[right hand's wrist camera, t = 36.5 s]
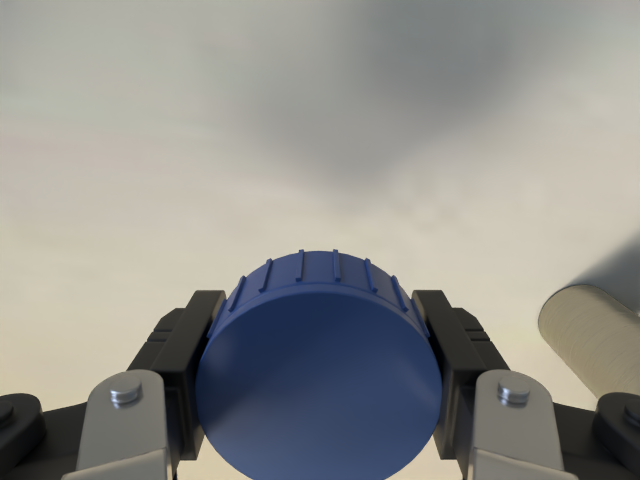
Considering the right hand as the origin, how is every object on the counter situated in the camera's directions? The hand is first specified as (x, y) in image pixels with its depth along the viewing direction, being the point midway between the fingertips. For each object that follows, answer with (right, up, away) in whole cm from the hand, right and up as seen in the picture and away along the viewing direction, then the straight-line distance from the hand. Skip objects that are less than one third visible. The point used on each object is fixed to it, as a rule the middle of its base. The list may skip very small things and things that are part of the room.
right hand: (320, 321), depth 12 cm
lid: (0, -1, -3) cm, 3 cm away
